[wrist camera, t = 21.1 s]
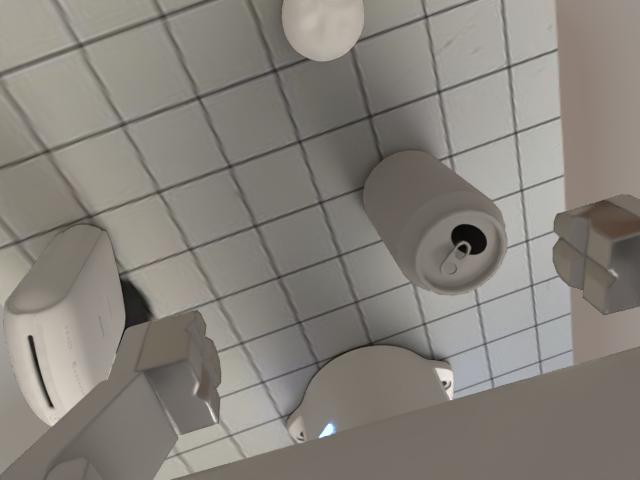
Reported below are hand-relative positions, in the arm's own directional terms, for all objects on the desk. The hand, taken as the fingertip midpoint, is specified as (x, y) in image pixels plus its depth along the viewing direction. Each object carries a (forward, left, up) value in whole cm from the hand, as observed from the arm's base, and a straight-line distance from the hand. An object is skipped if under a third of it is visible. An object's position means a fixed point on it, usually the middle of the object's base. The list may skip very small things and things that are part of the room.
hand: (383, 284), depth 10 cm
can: (-11, -7, -27) cm, 30 cm away
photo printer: (-9, +20, -27) cm, 35 cm away
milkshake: (+5, -3, -27) cm, 28 cm away
